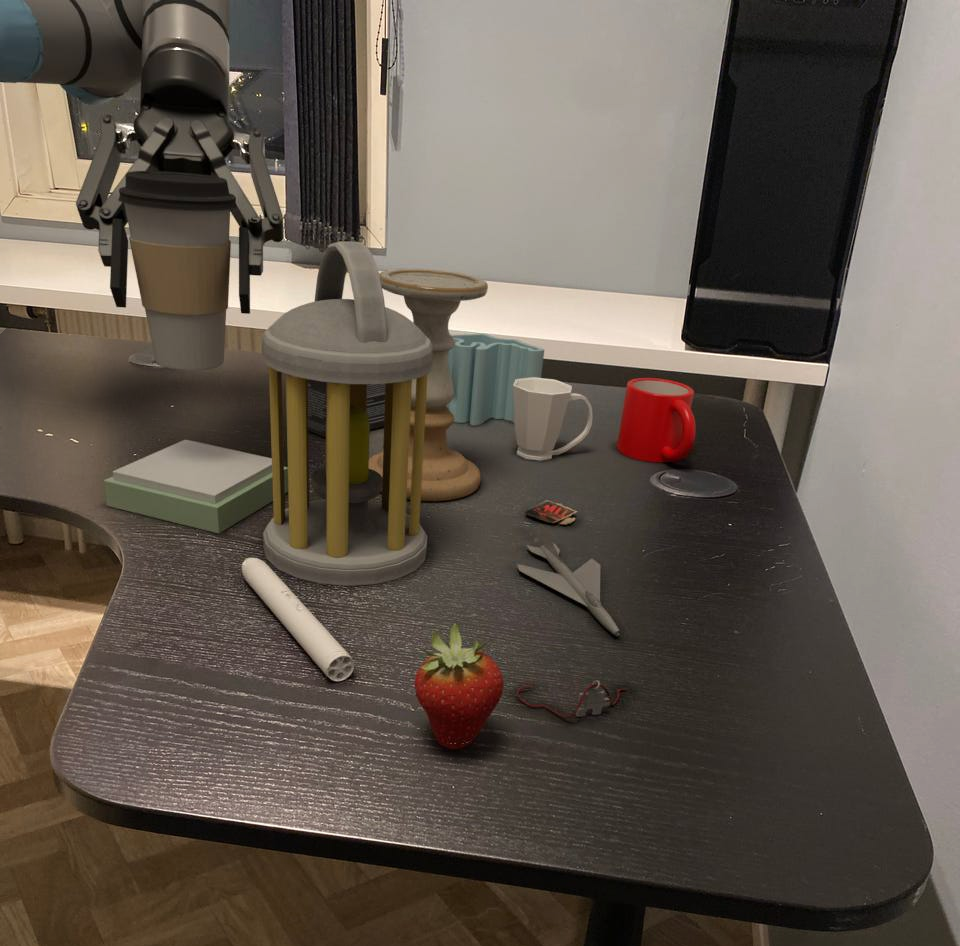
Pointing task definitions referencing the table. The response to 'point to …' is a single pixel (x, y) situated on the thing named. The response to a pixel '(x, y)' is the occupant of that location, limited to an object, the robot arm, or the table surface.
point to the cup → (543, 416)
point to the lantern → (347, 430)
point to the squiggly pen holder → (489, 375)
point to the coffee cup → (181, 262)
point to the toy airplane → (571, 580)
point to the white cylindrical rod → (298, 620)
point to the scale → (194, 485)
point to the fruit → (457, 689)
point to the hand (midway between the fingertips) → (182, 300)
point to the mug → (657, 421)
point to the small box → (319, 406)
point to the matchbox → (551, 512)
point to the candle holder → (435, 377)
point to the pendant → (584, 700)
